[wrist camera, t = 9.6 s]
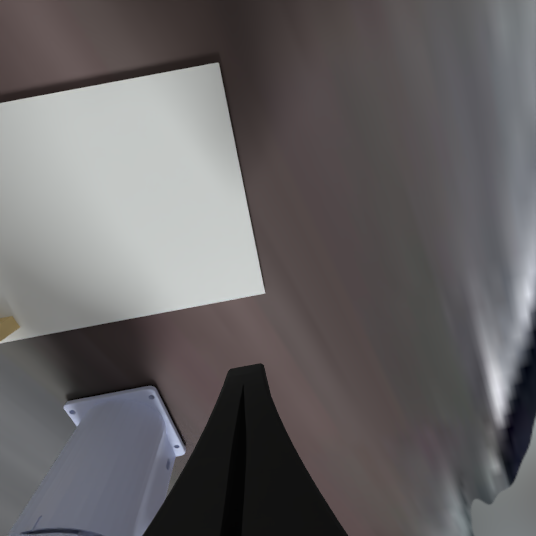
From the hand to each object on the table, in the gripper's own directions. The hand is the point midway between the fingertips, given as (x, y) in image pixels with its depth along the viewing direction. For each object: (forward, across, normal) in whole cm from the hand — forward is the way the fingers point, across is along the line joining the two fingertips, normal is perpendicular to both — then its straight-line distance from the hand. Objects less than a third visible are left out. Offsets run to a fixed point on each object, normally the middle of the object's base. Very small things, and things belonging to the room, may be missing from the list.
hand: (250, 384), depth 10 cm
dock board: (+9, +15, -6) cm, 19 cm away
